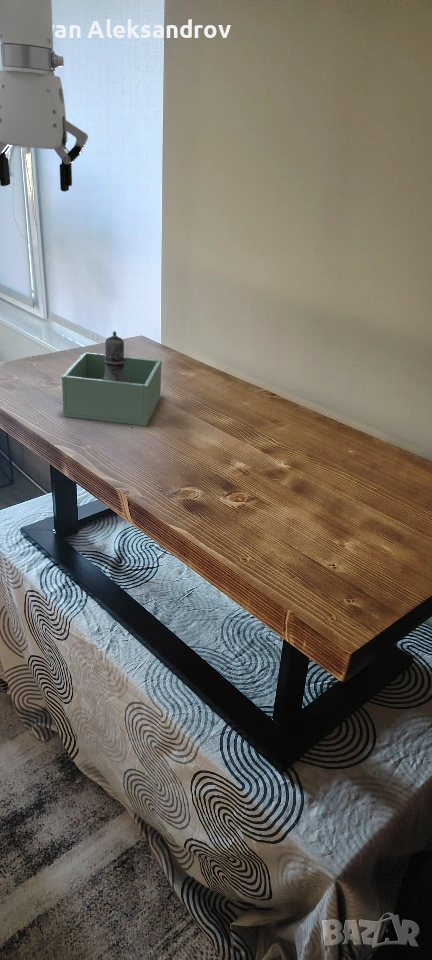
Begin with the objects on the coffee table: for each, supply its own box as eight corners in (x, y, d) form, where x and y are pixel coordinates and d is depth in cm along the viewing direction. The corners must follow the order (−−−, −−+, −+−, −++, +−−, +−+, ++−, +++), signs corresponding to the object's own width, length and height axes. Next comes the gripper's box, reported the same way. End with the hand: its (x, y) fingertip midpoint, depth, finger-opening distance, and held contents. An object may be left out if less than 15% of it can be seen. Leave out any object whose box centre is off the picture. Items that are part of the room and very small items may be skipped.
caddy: (63, 416, 98) (61, 376, 95) (85, 388, 109) (84, 351, 105) (146, 425, 97) (147, 386, 94) (160, 397, 108) (161, 360, 105)
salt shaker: (130, 411, 100) (131, 338, 94) (93, 408, 100) (92, 335, 94) (134, 397, 105) (135, 327, 99) (99, 394, 105) (98, 324, 99)
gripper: (90, 70, 97) (92, 190, 105) (-22, 59, 96) (-11, 181, 105) (81, 65, 90) (83, 195, 99) (-40, 54, 90) (-27, 185, 98)
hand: (35, 188), depth 102 cm, fingers open, 9 cm apart
